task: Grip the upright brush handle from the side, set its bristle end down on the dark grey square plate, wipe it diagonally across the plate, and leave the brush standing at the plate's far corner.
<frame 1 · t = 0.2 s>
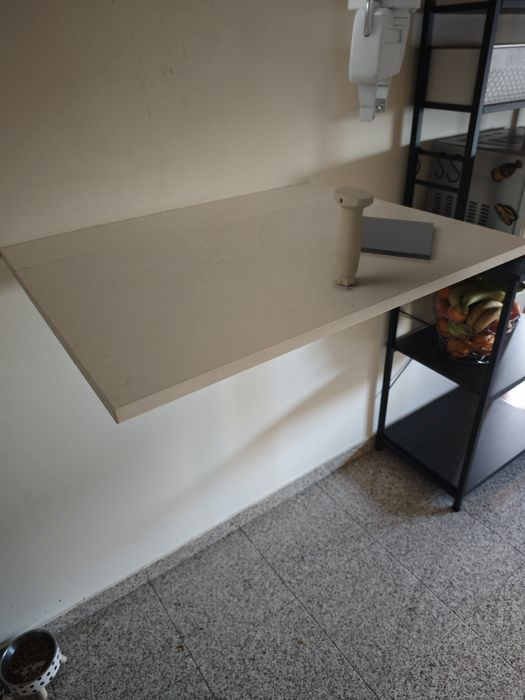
hand: (372, 116, 68), 26 cm above the table, tool pointing down, fingers open, 8 cm apart
dark grey square plate: (390, 238, 101), on the table
handle: (345, 283, 84), on the table
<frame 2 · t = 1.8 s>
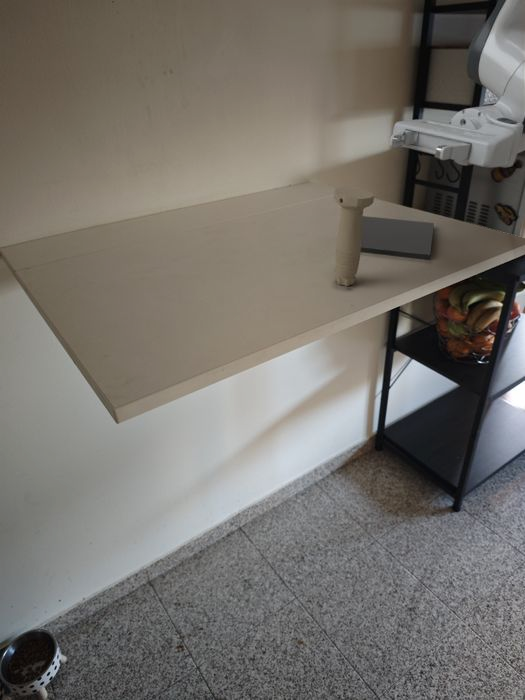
hand: (415, 147, 77), 20 cm above the table, tool horizontal, fingers open, 8 cm apart
nothing on the table moved.
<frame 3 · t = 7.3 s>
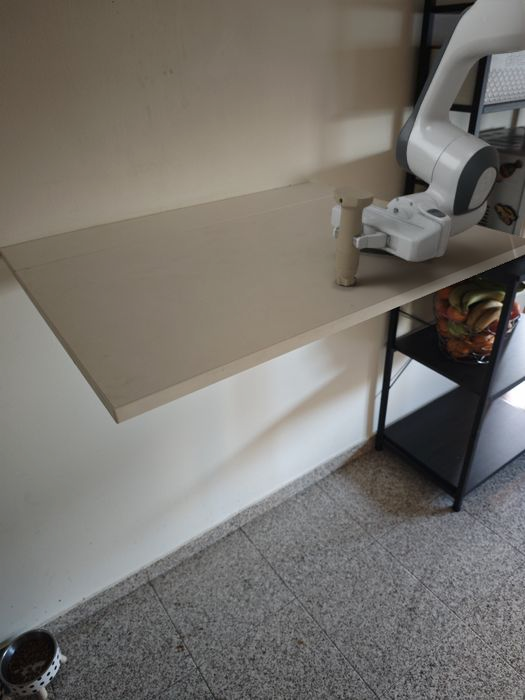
hand: (345, 238, 79), 8 cm above the table, tool horizontal, fingers closed on handle, 3 cm apart
handle: (344, 283, 84), on the table, touching gripper
when the fingers open (9 cm above the table, at t = 16.2 s): handle stays where it is, resting on dark grey square plate.
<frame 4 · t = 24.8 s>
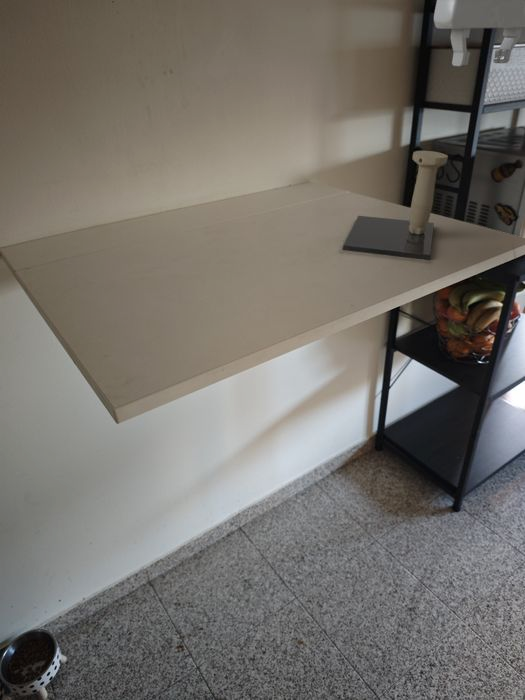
hand: (480, 64, 75), 31 cm above the table, tool pointing down, fingers open, 8 cm apart
handle: (416, 233, 100), point 1 cm above the table, touching dark grey square plate
at the end: handle 0.4 cm from the target spot on the dark grey square plate, point 0.8 cm above the dark grey square plate's base; handle moved 27.0 cm from its start; handle tilted 0° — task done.
